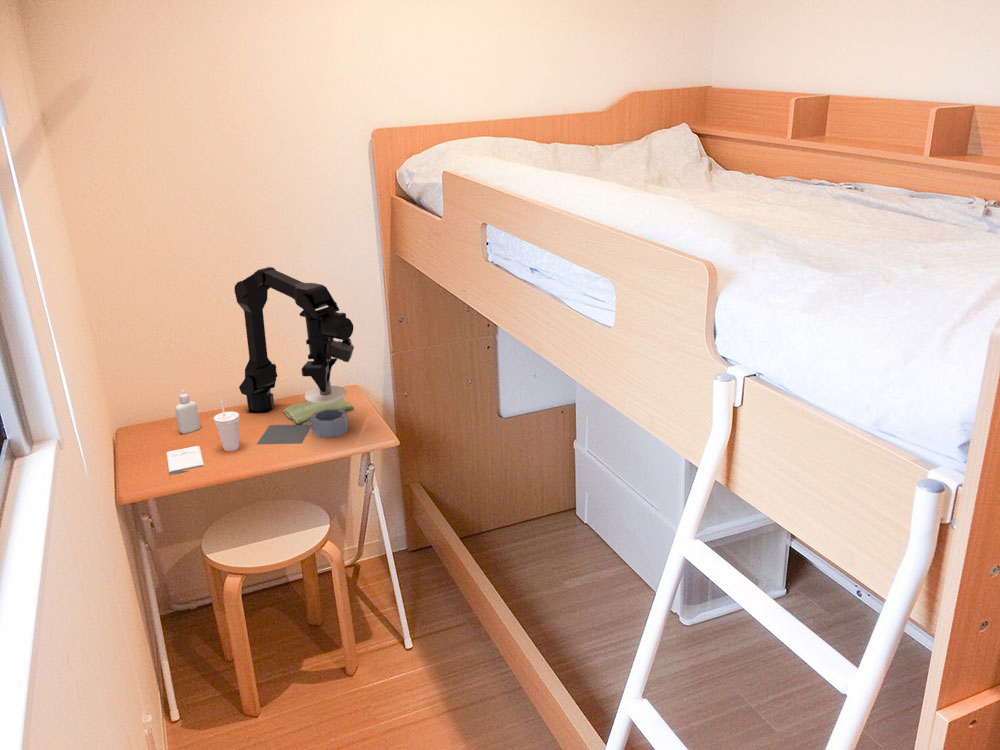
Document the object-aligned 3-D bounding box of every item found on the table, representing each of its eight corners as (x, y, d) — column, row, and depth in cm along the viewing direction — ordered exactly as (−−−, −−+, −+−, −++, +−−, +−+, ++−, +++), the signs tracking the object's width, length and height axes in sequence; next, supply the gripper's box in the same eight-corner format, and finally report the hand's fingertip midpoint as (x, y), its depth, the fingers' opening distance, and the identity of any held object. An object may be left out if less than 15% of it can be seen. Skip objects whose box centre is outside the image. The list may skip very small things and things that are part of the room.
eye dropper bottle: (179, 428, 223) (172, 388, 219) (201, 425, 225) (194, 386, 220) (179, 434, 219) (171, 394, 215) (200, 431, 221) (193, 391, 216)
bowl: (310, 439, 214) (308, 422, 212) (318, 425, 223) (316, 408, 221) (344, 438, 214) (342, 421, 212) (350, 424, 222) (349, 408, 221)
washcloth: (280, 415, 231) (279, 405, 230) (337, 400, 241) (335, 390, 239) (298, 430, 221) (297, 419, 220) (356, 413, 231) (355, 403, 229)
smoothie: (215, 449, 210) (206, 400, 205) (238, 442, 214) (230, 394, 209) (224, 457, 205) (216, 407, 200) (248, 450, 209) (240, 400, 204)
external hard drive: (170, 477, 197) (167, 457, 208) (204, 470, 200) (200, 450, 211) (168, 471, 197) (166, 451, 207) (203, 464, 200) (199, 444, 210)
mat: (256, 446, 211) (256, 444, 211) (269, 427, 222) (269, 425, 222) (301, 445, 211) (301, 443, 211) (312, 426, 222) (312, 424, 222)
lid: (300, 404, 209) (298, 391, 208) (310, 388, 219) (308, 376, 218) (342, 403, 209) (340, 389, 208) (350, 387, 219) (348, 375, 218)
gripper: (342, 344, 199) (348, 402, 205) (356, 322, 216) (361, 376, 222) (297, 345, 199) (305, 403, 205) (315, 323, 217) (321, 377, 222)
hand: (325, 389), depth 214 cm, fingers closed on lid, 3 cm apart
